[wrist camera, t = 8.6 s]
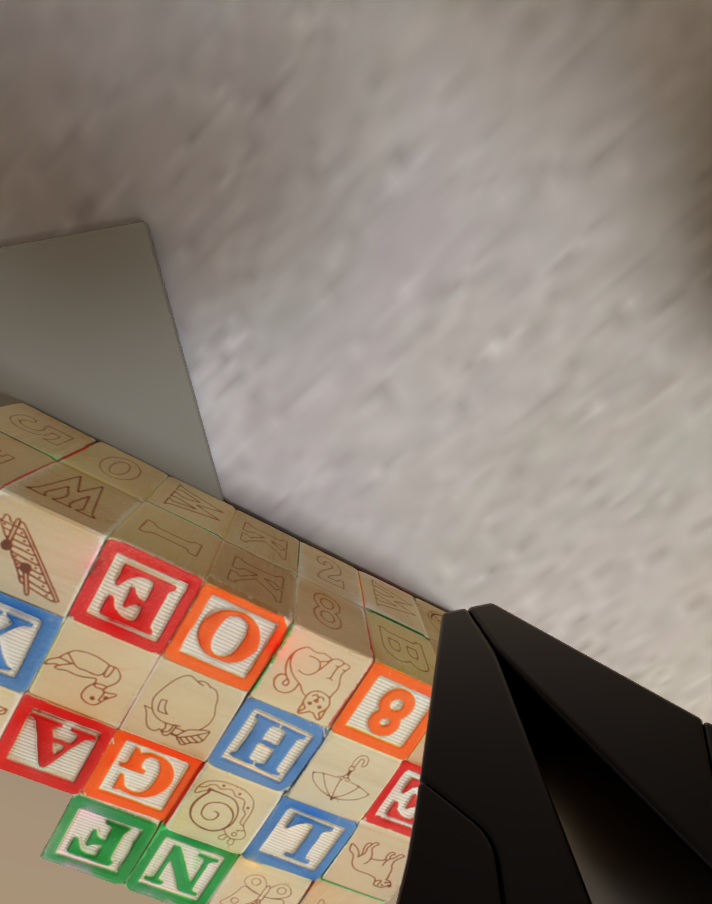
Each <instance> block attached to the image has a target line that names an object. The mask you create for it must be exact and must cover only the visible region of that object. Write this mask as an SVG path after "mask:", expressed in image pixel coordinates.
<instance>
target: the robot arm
mask: <svg viewBox="0 0 712 904" xmlns="http://www.w3.org/2000/svg"><path fill="white" fill-rule="evenodd" d="M396 904H712V724H710V723H704V724H703V723H702V720H701V719H700V718H699V717H697V716H695V715H693V714H691V713H690V712H688V711H686V710H684V709H682V708H681V707H679V706H677V705H675V704H673V703H672V702H670V701H668V700H666V699H664V698H663V697H661V696H659V695H657V694H655V693H654V692H652V691H650V690H648V689H646V688H645V687H643V686H641V685H639V684H637V683H636V682H634V681H632V680H630V679H628V678H626V677H625V676H623V675H621V674H619V673H617V672H616V671H614V670H612V669H610V668H608V667H607V666H605V665H603V664H601V663H599V662H598V661H596V660H594V659H592V658H590V657H589V656H587V655H585V654H583V653H581V652H580V651H578V650H576V649H574V648H572V647H571V646H569V645H567V644H565V643H563V642H562V641H560V640H558V639H556V638H554V637H553V636H551V635H549V634H547V633H545V632H543V631H542V630H540V629H538V628H536V627H534V626H533V625H531V624H529V623H527V622H525V621H524V620H522V619H520V618H518V617H516V616H515V615H513V614H511V613H509V612H507V611H506V610H504V609H502V608H500V607H498V606H497V605H495V604H492V603H489V604H484V605H479V606H474V607H471V608H469V610H468V611H467V610H466V609H460V610H455V611H450V612H445V613H444V614H443V615H442V618H441V625H440V633H439V640H438V647H437V655H436V662H435V670H434V677H433V684H432V692H431V699H430V706H429V714H428V721H427V728H426V736H425V743H424V751H423V758H422V765H421V773H420V785H419V786H418V792H417V799H416V806H415V814H414V819H413V825H412V831H411V837H410V843H409V848H408V854H407V860H406V864H405V868H404V873H403V877H402V881H401V885H400V890H399V894H398V898H397V902H396Z"/></svg>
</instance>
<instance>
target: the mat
mask: <svg viewBox="0 0 712 904" xmlns="http://www.w3.org/2000/svg"><path fill="white" fill-rule="evenodd" d="M18 403H24V404H26V405H29V406H31V407H33V408H35V409H37V410H39V411H40V412H42V413H44V414H46V415H48V416H50V417H52V418H54V419H56V420H58V421H60V422H62V423H64V424H66V425H68V426H70V427H72V428H74V429H76V430H78V431H79V432H81V433H83V434H85V435H87V436H89V437H91V438H93V439H95V441H96V442H104V443H106V444H108V445H110V446H113V447H115V448H117V449H119V450H121V451H122V452H124V453H126V454H128V455H130V456H132V457H135V458H137V459H139V460H141V461H143V462H145V463H147V464H149V465H151V466H153V467H154V468H156V469H158V470H160V471H162V472H164V473H165V474H166V475H168V476H169V477H174V478H176V479H178V480H180V481H182V482H184V483H186V484H188V485H190V486H193V487H195V488H197V489H199V490H201V491H203V492H205V493H207V494H209V495H211V496H213V497H215V498H217V499H219V500H221V501H223V502H224V498H223V495H222V491H221V488H220V484H219V480H218V477H217V473H216V470H215V466H214V462H213V459H212V455H211V452H210V448H209V444H208V441H207V437H206V434H205V430H204V426H203V423H202V419H201V416H200V412H199V408H198V405H197V401H196V398H195V394H194V390H193V387H192V383H191V380H190V376H189V372H188V369H187V365H186V361H185V358H184V354H183V351H182V347H181V343H180V340H179V336H178V333H177V329H176V325H175V322H174V318H173V315H172V311H171V307H170V304H169V300H168V297H167V293H166V289H165V286H164V282H163V279H162V275H161V271H160V268H159V264H158V261H157V257H156V253H155V250H154V246H153V243H152V239H151V235H150V232H149V228H148V224H147V223H145V222H144V221H143V222H138V223H132V224H127V225H121V226H116V227H110V228H105V229H99V230H94V231H88V232H83V233H77V234H72V235H66V236H61V237H55V238H50V239H44V240H39V241H33V242H28V243H22V244H17V245H11V246H6V247H0V407H3V406H7V405H12V404H18Z"/></svg>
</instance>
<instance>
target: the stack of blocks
mask: <svg viewBox="0 0 712 904" xmlns="http://www.w3.org/2000/svg"><path fill="white" fill-rule="evenodd" d="M444 613H445V612H444V611H442V610H440V609H438V608H436V607H434V606H432V605H430V604H428V603H426V602H424V601H422V600H420V599H417V598H413V597H412V596H411V595H410V594H408V593H406V592H404V591H401V590H399V589H397V588H395V587H393V586H391V585H389V584H387V583H385V582H383V581H381V580H379V579H377V578H375V577H373V576H371V575H369V574H366V573H364V572H362V571H357V570H356V569H355V568H353V567H351V566H349V565H347V564H345V563H343V562H341V561H339V560H337V559H335V558H333V557H331V556H329V555H327V554H325V553H323V552H321V551H319V550H317V549H315V548H313V547H311V546H309V545H307V544H305V543H302V542H299V541H298V540H297V539H295V538H293V537H291V536H289V535H287V534H285V533H283V532H281V531H279V530H277V529H275V528H273V527H271V526H269V525H267V524H265V523H263V522H261V521H259V520H257V519H255V518H253V517H251V516H249V515H247V514H245V513H243V512H241V511H238V510H235V509H234V507H233V506H231V505H229V504H227V503H225V502H223V501H221V500H219V499H217V498H215V497H213V496H211V495H209V494H207V493H205V492H203V491H201V490H199V489H197V488H195V487H193V486H190V485H188V484H186V483H184V482H182V481H180V480H178V479H176V478H174V477H169V476H168V475H166V474H165V473H164V472H162V471H160V470H158V469H156V468H154V467H153V466H151V465H149V464H147V463H145V462H143V461H141V460H139V459H137V458H135V457H132V456H130V455H128V454H126V453H124V452H122V451H121V450H119V449H117V448H115V447H113V446H110V445H108V444H106V443H104V442H96V441H95V439H93V438H91V437H89V436H87V435H85V434H83V433H81V432H79V431H78V430H76V429H74V428H72V427H70V426H68V425H66V424H64V423H62V422H60V421H58V420H56V419H54V418H52V417H50V416H48V415H46V414H44V413H42V412H40V411H39V410H37V409H35V408H33V407H31V406H29V405H26V404H24V403H18V404H12V405H7V406H3V407H0V769H3V770H6V771H9V772H11V773H14V774H17V775H20V776H23V777H26V778H28V779H31V780H34V781H37V782H40V783H43V784H45V785H48V786H51V787H54V788H57V789H59V790H62V791H65V792H68V793H71V794H73V796H72V798H71V800H70V802H69V804H68V806H67V808H66V809H65V811H64V813H63V815H62V817H61V819H60V821H59V823H58V824H57V826H56V828H55V830H54V832H53V833H52V835H51V837H50V839H49V841H48V843H47V844H46V846H45V848H44V850H43V852H42V853H41V855H40V857H42V858H43V859H45V860H48V861H51V862H54V863H57V864H60V865H63V866H65V867H68V868H71V869H74V870H77V871H80V872H83V873H86V874H89V875H91V876H94V877H97V878H100V879H103V880H106V881H109V882H112V883H115V884H122V883H123V884H124V885H125V886H126V887H127V888H128V889H129V890H131V891H134V892H137V893H140V894H143V895H146V896H149V897H152V898H155V899H157V900H160V901H162V902H166V903H169V904H385V902H387V901H389V900H390V899H391V897H392V896H393V894H394V893H395V892H396V890H397V889H398V887H399V886H400V885H401V881H402V877H403V873H404V868H405V864H406V860H407V854H408V848H409V843H410V837H411V831H412V825H413V819H414V814H415V806H416V799H417V792H418V786H419V785H420V773H421V765H422V758H423V751H424V743H425V736H426V728H427V721H428V714H429V706H430V699H431V692H432V684H433V677H434V670H435V662H436V655H437V647H438V640H439V633H440V625H441V618H442V615H443V614H444Z"/></svg>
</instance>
